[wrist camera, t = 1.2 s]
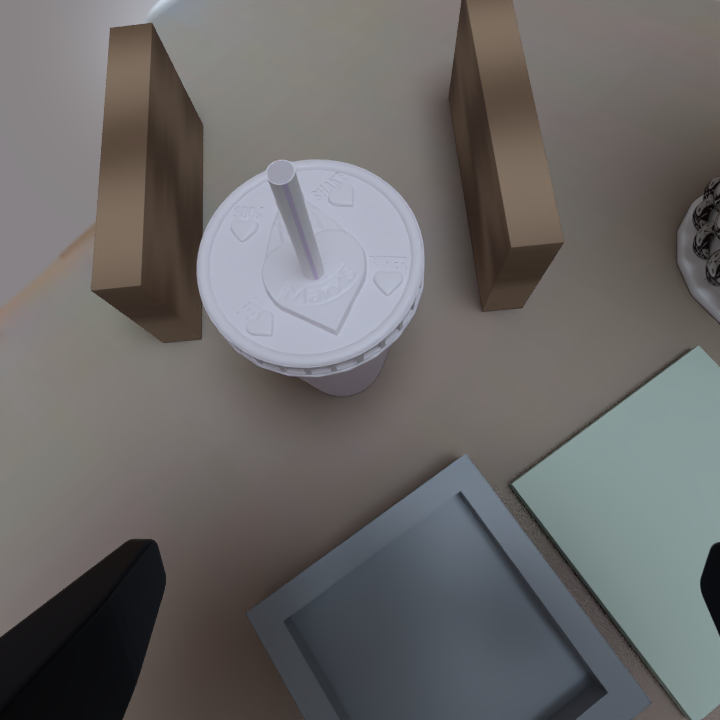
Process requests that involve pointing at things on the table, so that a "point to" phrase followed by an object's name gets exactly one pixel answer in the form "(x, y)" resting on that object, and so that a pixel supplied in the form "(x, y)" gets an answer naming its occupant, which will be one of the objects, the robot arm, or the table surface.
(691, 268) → the decorative candle
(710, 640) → the mat
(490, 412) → the table surface
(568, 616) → the tray
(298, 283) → the smoothie
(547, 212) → the lane
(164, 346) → the table surface
